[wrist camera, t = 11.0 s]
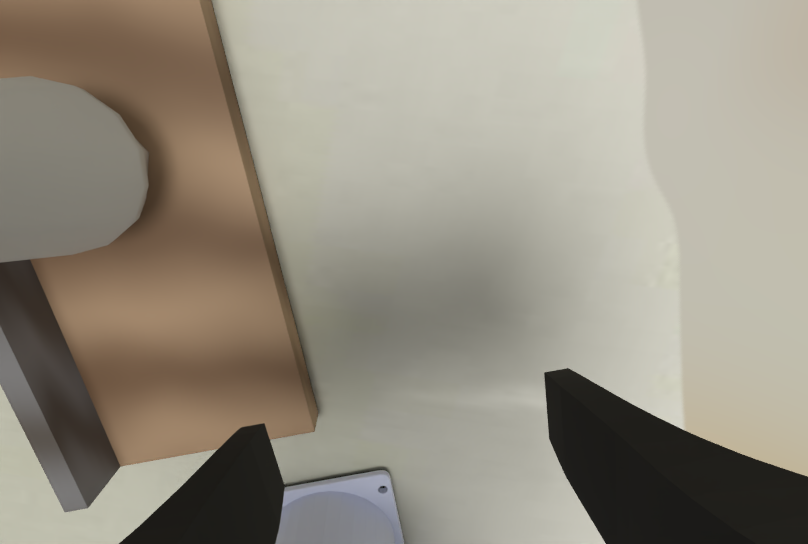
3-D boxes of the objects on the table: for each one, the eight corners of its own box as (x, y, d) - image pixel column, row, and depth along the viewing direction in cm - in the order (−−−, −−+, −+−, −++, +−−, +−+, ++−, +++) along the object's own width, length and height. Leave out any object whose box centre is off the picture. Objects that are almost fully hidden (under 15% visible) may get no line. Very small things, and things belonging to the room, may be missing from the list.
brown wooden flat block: (318, 412, 23) (306, 468, 19) (113, 449, 22) (60, 513, 19) (203, -29, 17) (152, -79, 13) (-75, 18, 17) (-210, -19, 13)
